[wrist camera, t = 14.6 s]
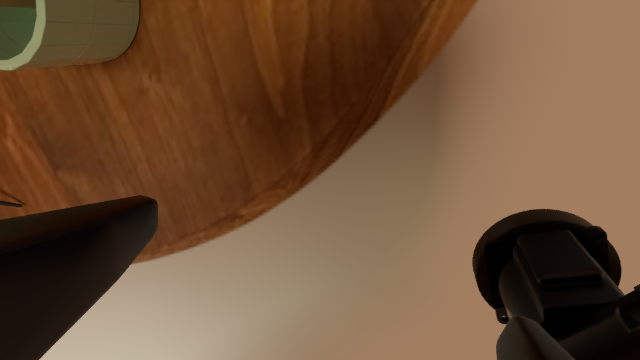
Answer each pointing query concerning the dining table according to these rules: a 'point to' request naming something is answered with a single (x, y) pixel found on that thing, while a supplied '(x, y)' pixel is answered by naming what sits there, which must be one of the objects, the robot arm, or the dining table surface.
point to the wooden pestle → (19, 3)
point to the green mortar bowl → (66, 32)
